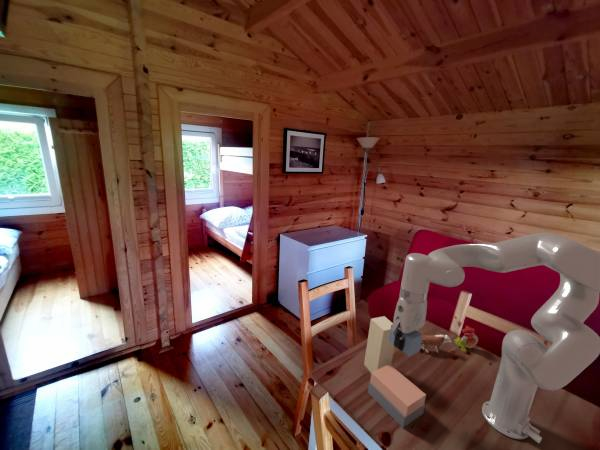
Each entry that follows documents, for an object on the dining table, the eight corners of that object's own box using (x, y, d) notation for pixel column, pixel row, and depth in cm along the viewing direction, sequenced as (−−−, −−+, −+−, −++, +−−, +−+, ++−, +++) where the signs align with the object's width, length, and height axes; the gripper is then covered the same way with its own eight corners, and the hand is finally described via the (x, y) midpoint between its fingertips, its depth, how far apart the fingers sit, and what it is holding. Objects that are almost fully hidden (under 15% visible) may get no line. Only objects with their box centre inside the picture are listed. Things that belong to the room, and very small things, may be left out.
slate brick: (419, 351, 85) (422, 334, 84) (409, 356, 83) (412, 339, 81) (398, 336, 92) (401, 320, 90) (388, 340, 89) (391, 324, 88)
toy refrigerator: (391, 375, 105) (399, 327, 100) (376, 379, 102) (383, 330, 97) (378, 360, 112) (385, 315, 107) (363, 364, 109) (370, 318, 104)
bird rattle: (463, 346, 127) (448, 341, 125) (476, 327, 125) (462, 321, 123) (473, 356, 121) (458, 350, 119) (487, 336, 119) (472, 329, 117)
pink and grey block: (422, 413, 89) (427, 394, 87) (402, 428, 84) (406, 407, 82) (387, 381, 101) (390, 363, 99) (367, 392, 96) (370, 373, 94)
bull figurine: (450, 354, 118) (454, 338, 116) (419, 352, 118) (422, 336, 116) (445, 347, 122) (448, 332, 120) (415, 346, 122) (418, 330, 120)
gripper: (405, 306, 75) (395, 361, 80) (441, 293, 84) (430, 344, 88) (384, 294, 81) (376, 346, 86) (419, 283, 90) (411, 331, 95)
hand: (404, 344), depth 87 cm, fingers closed on slate brick, 5 cm apart
